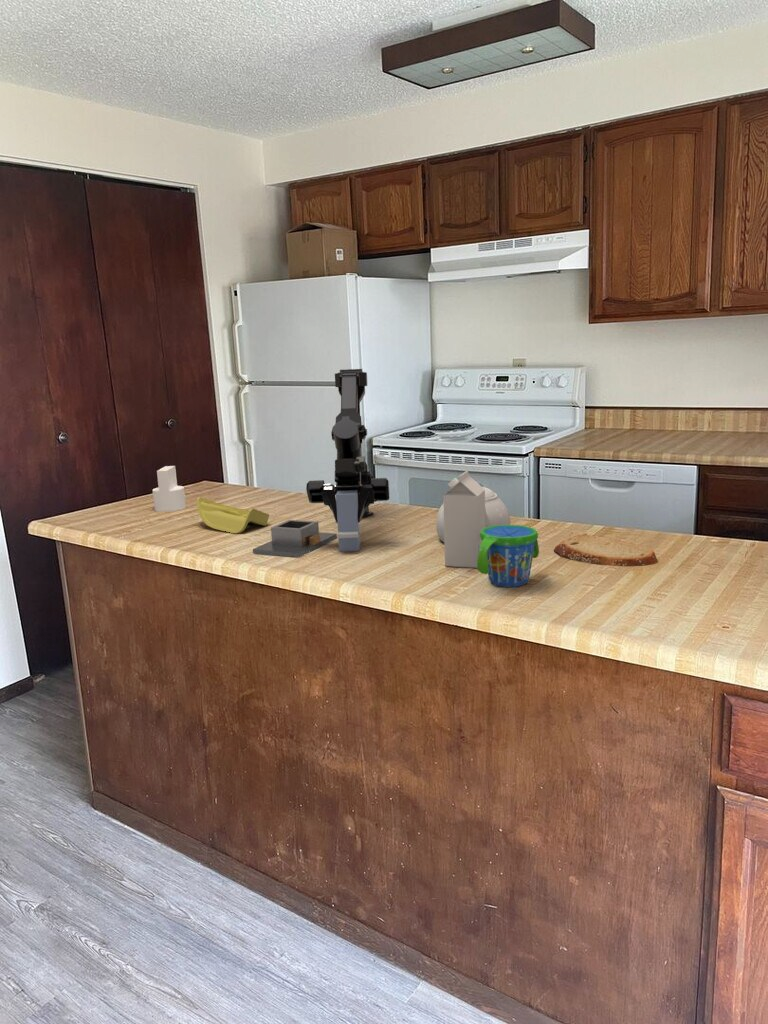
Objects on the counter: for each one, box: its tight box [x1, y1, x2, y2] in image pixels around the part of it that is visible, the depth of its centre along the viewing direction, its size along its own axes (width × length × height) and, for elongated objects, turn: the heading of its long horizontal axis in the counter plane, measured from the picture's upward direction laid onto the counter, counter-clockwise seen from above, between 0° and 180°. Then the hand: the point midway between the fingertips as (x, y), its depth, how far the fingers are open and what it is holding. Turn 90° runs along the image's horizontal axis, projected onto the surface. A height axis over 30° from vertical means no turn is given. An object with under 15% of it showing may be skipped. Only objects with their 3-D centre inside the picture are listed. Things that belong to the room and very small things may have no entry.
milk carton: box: [442, 469, 485, 569], centre depth 160 cm, size 7×7×19 cm
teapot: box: [435, 481, 511, 543], centre depth 179 cm, size 19×18×14 cm
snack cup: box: [476, 524, 540, 588], centre depth 147 cm, size 16×10×10 cm
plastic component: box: [196, 496, 270, 534], centre depth 204 cm, size 20×7×10 cm
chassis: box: [252, 519, 338, 558], centre depth 181 cm, size 18×12×5 cm, turn 155°
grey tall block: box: [335, 490, 361, 552], centre depth 175 cm, size 9×4×13 cm, turn 178°
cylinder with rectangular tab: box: [152, 465, 187, 513], centre depth 229 cm, size 9×9×12 cm
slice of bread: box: [553, 533, 659, 567], centre depth 163 cm, size 18×18×4 cm
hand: (347, 521), depth 174 cm, fingers closed on grey tall block, 4 cm apart
